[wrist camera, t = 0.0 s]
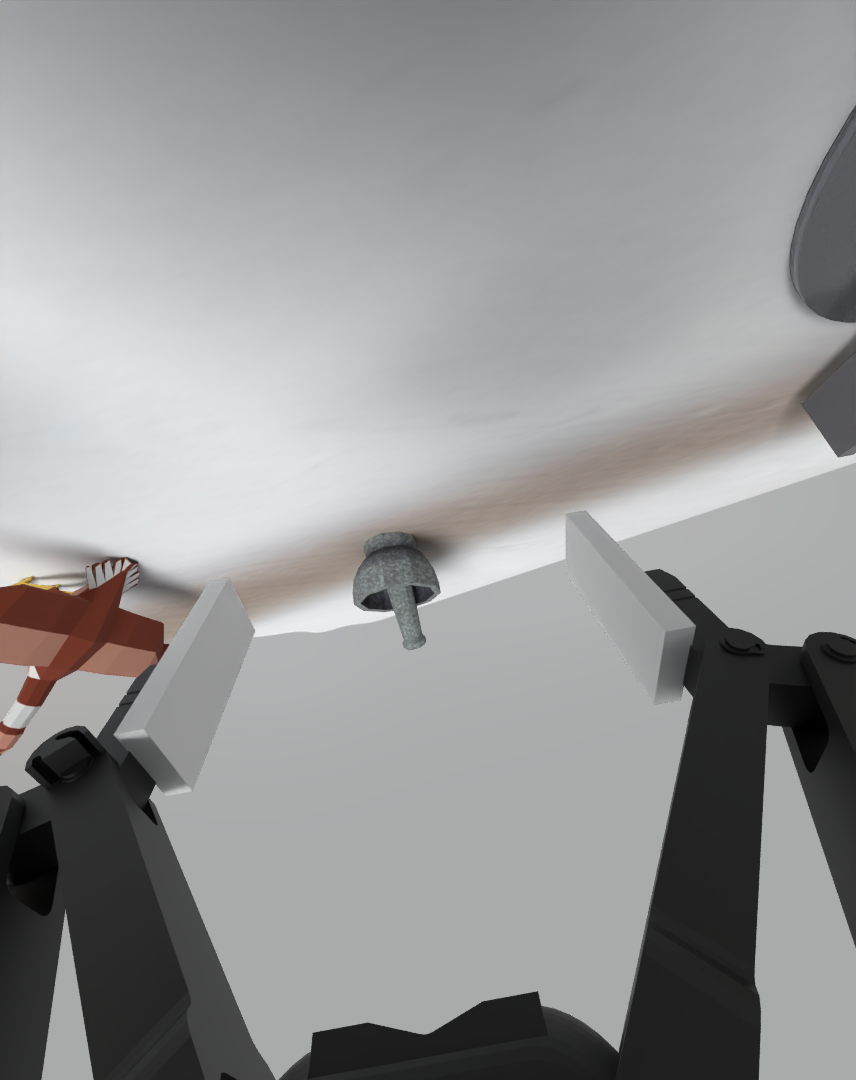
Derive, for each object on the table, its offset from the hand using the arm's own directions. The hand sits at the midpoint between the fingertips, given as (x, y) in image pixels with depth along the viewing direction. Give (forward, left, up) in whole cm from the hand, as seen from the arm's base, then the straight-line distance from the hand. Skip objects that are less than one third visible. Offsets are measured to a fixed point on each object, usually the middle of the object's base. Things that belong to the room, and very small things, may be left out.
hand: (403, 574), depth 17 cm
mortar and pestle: (+31, -3, -16) cm, 35 cm away
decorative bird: (+23, -35, -16) cm, 45 cm away
